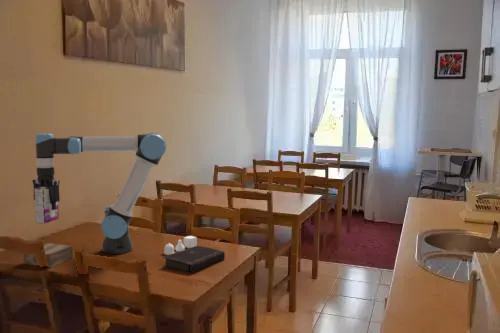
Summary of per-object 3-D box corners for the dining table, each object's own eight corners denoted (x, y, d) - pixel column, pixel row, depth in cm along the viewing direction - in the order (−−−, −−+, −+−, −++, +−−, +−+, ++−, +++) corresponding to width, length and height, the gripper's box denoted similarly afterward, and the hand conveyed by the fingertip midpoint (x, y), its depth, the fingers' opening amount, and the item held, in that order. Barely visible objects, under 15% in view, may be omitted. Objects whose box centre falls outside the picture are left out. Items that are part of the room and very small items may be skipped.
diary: (225, 260, 231) (225, 250, 230) (193, 275, 209) (193, 264, 209) (194, 254, 240) (194, 244, 240) (161, 267, 219) (161, 256, 218)
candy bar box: (49, 218, 229) (48, 184, 227) (59, 218, 228) (58, 184, 226) (34, 223, 218) (33, 187, 216) (44, 223, 217) (43, 188, 215)
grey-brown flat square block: (72, 258, 230) (72, 245, 229) (51, 267, 216) (50, 254, 215) (47, 254, 234) (46, 243, 234) (24, 263, 220) (23, 251, 220)
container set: (190, 245, 255) (189, 235, 254) (197, 247, 252) (197, 237, 251) (161, 253, 239) (161, 243, 239) (168, 255, 236) (168, 245, 235)
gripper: (67, 167, 221) (68, 216, 223) (35, 165, 226) (37, 213, 229) (56, 168, 214) (57, 219, 216) (23, 166, 219) (25, 216, 222)
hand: (47, 216), depth 223 cm, fingers closed on candy bar box, 5 cm apart
